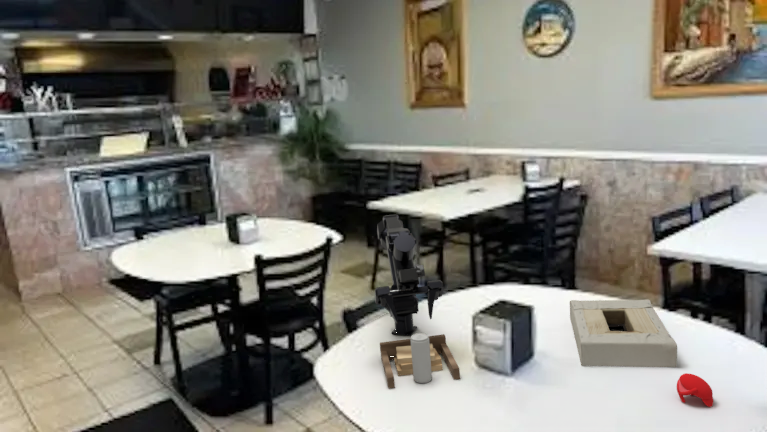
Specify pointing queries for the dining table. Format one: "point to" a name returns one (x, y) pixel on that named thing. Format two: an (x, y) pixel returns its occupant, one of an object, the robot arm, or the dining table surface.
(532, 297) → the dining table surface
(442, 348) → the offcut rack
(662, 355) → the box
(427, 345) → the beverage can
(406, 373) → the offcut stack
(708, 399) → the red curved shell piece
